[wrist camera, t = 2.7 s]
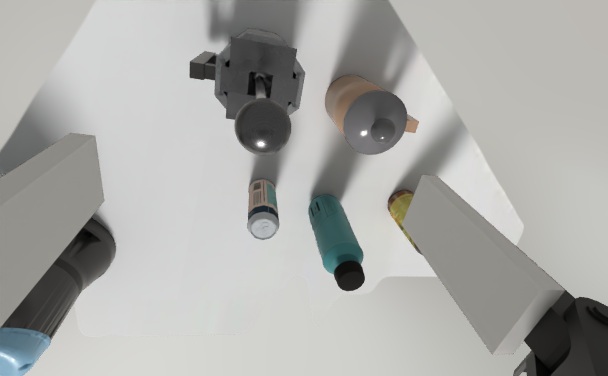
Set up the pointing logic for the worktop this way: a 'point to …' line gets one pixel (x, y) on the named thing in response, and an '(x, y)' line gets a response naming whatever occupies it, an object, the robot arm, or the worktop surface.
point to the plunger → (262, 119)
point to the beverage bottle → (337, 242)
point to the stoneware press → (367, 114)
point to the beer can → (262, 210)
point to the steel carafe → (252, 57)
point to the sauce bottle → (401, 210)
